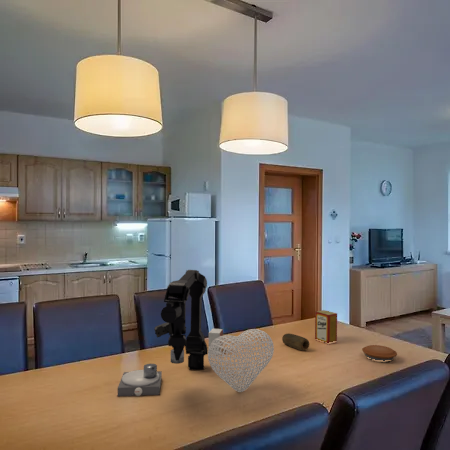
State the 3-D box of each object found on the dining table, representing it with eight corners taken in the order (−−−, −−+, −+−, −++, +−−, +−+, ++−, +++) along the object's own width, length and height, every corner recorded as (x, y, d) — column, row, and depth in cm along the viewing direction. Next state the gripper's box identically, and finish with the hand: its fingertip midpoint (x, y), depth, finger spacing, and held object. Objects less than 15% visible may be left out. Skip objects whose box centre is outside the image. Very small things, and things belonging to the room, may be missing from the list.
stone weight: (311, 350, 199) (311, 337, 199) (302, 353, 195) (302, 339, 195) (289, 343, 211) (289, 330, 211) (280, 345, 207) (280, 332, 207)
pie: (361, 361, 184) (361, 350, 184) (362, 351, 198) (363, 341, 198) (397, 366, 178) (397, 355, 178) (396, 355, 193) (396, 345, 193)
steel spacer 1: (157, 373, 156) (157, 363, 156) (156, 378, 151) (156, 368, 151) (144, 373, 155) (144, 363, 155) (142, 378, 150) (143, 368, 150)
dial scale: (161, 378, 161) (161, 368, 161) (159, 395, 145) (159, 384, 145) (123, 379, 159) (123, 369, 159) (117, 396, 144) (117, 385, 143)
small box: (219, 355, 190) (219, 333, 190) (208, 354, 191) (208, 332, 191) (222, 349, 198) (223, 328, 198) (212, 349, 199) (212, 328, 199)
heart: (226, 410, 134) (226, 345, 134) (198, 394, 146) (199, 334, 146) (281, 388, 152) (282, 331, 152) (253, 376, 164) (254, 322, 164)
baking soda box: (336, 342, 212) (337, 312, 212) (328, 344, 209) (328, 314, 209) (323, 338, 220) (323, 309, 220) (315, 339, 217) (315, 310, 217)
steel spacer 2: (184, 358, 151) (184, 348, 150) (183, 363, 146) (184, 352, 146) (170, 359, 150) (170, 348, 150) (170, 363, 145) (170, 352, 145)
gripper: (157, 310, 156) (157, 350, 156) (154, 322, 138) (153, 367, 138) (186, 310, 157) (185, 349, 157) (186, 322, 139) (185, 366, 139)
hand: (177, 357), depth 148 cm, fingers closed on steel spacer 2, 5 cm apart
